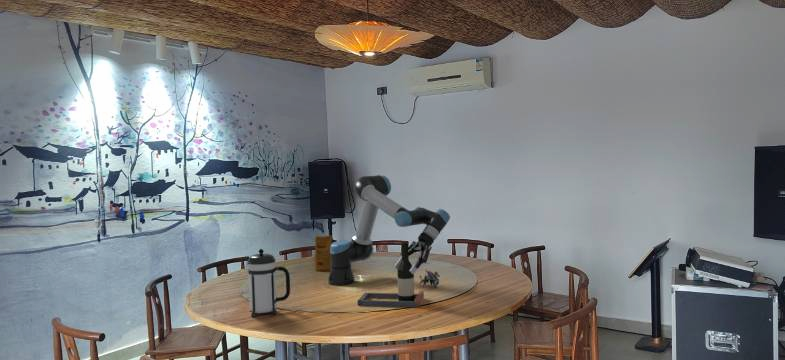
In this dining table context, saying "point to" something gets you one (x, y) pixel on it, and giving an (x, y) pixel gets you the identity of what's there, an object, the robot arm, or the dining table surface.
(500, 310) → the dining table surface
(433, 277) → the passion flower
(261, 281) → the coffee press
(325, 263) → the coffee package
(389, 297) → the frame
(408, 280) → the wine bottle
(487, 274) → the dining table surface
